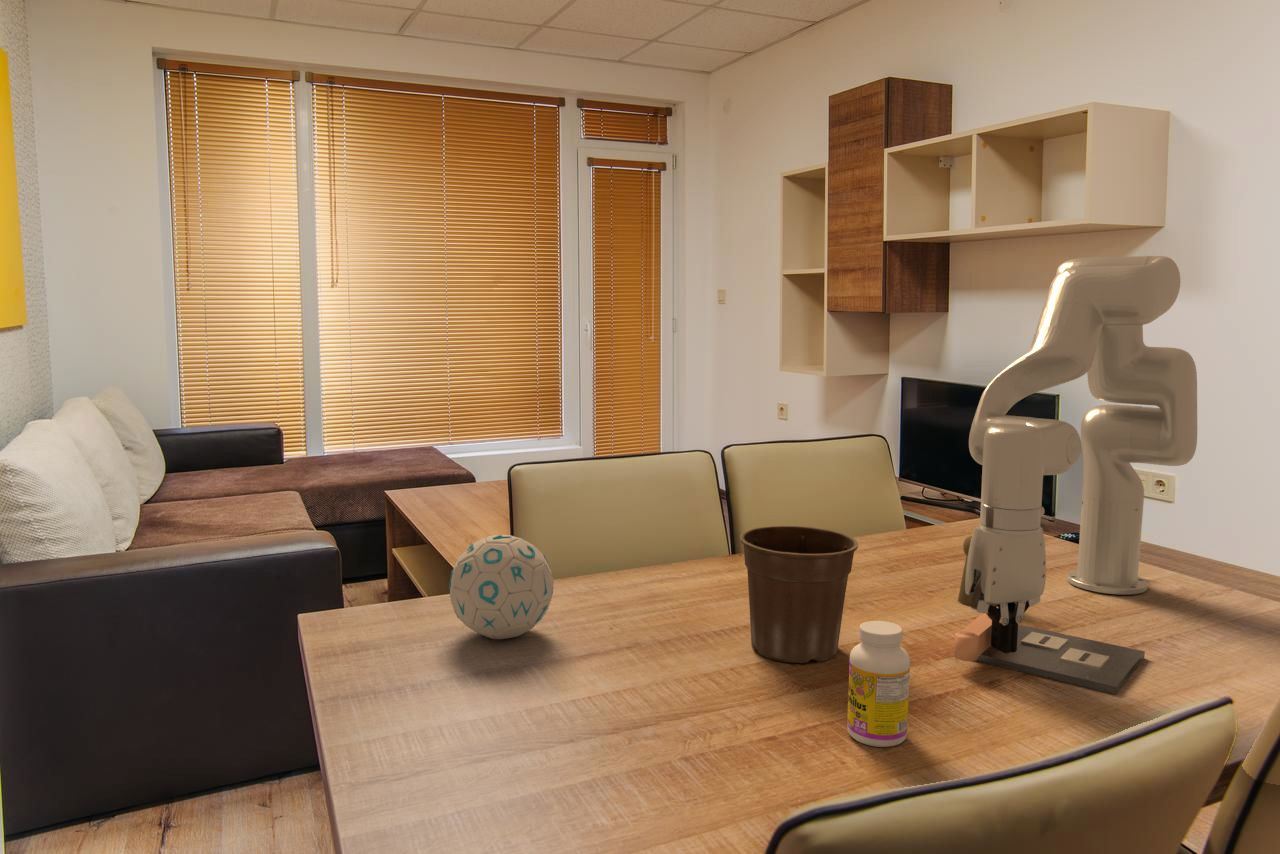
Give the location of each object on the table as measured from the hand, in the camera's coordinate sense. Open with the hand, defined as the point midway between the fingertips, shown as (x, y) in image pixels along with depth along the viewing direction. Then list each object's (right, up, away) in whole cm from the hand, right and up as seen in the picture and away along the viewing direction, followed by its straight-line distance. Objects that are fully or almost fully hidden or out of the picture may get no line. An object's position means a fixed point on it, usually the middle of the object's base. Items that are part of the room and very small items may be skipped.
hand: (1003, 649), depth 129 cm
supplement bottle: (-22, -5, -21) cm, 31 cm away
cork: (+6, +1, +28) cm, 28 cm away
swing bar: (-1, 0, +4) cm, 4 cm away
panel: (+8, -2, +3) cm, 9 cm away
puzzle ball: (-70, -1, +11) cm, 70 cm away
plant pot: (-27, -2, +6) cm, 28 cm away
